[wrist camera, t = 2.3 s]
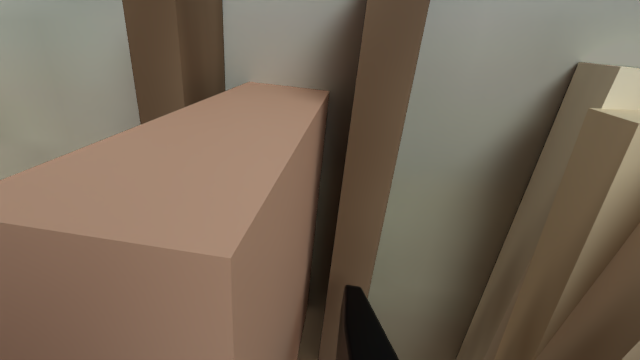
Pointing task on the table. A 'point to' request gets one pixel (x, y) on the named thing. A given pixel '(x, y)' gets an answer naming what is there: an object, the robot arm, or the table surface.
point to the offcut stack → (573, 236)
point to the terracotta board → (169, 236)
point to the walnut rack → (365, 127)
